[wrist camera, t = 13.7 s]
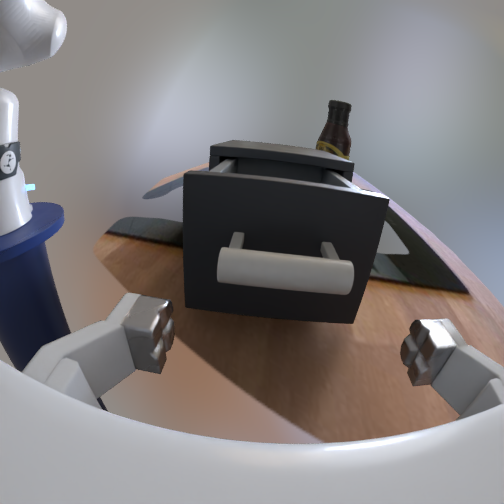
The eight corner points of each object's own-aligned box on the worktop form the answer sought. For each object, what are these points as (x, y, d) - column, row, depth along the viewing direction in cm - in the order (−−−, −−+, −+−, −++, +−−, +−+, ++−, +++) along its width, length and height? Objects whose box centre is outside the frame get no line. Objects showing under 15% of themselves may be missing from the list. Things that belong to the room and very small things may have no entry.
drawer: (368, 369, 14) (426, 224, 10) (166, 352, 14) (151, 191, 10) (322, 245, 30) (336, 166, 26) (218, 234, 30) (223, 152, 27)
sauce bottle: (299, 202, 51) (312, 97, 42) (323, 201, 54) (336, 104, 45) (323, 212, 46) (340, 98, 37) (347, 211, 49) (362, 106, 40)
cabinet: (333, 270, 27) (354, 163, 22) (205, 256, 27) (210, 145, 23) (313, 222, 40) (324, 150, 36) (227, 213, 41) (232, 140, 36)
